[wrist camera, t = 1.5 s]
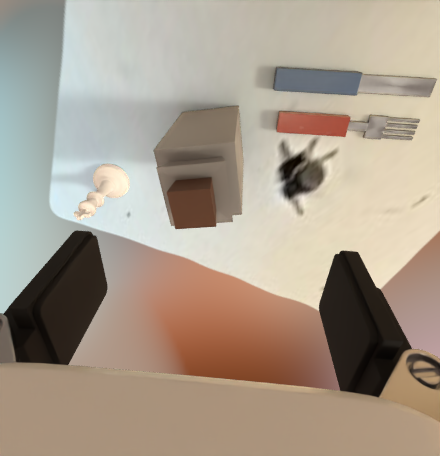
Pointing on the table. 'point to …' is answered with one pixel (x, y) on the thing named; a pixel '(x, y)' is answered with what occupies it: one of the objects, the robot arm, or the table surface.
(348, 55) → the table surface
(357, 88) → the knife
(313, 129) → the fork
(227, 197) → the perfume bottle
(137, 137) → the table surface
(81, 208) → the chess piece
